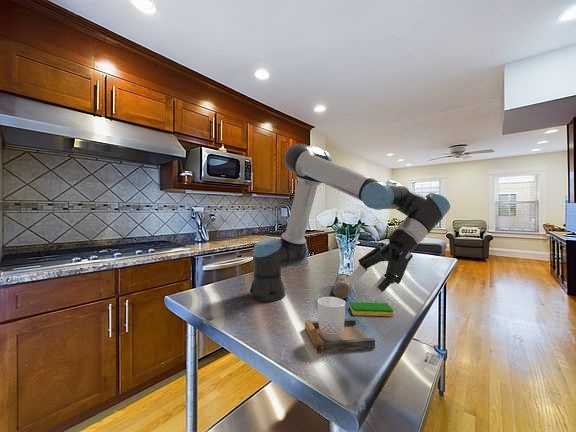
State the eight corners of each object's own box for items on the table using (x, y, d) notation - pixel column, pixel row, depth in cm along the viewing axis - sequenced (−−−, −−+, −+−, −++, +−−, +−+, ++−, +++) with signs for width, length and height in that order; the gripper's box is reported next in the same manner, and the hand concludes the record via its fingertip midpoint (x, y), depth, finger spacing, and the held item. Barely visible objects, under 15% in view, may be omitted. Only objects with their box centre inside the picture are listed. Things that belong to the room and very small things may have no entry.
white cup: (315, 329, 77) (315, 297, 77) (340, 328, 78) (340, 296, 78) (320, 343, 69) (320, 307, 69) (348, 342, 70) (349, 306, 70)
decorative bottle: (351, 299, 104) (351, 283, 104) (332, 298, 107) (332, 282, 106) (353, 282, 129) (353, 268, 129) (337, 280, 131) (337, 268, 131)
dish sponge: (349, 308, 97) (349, 301, 97) (387, 309, 96) (387, 302, 95) (352, 316, 90) (353, 309, 89) (393, 317, 88) (393, 310, 88)
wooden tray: (354, 324, 82) (354, 316, 82) (375, 347, 69) (375, 338, 68) (305, 328, 79) (305, 320, 79) (317, 353, 66) (317, 343, 66)
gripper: (447, 252, 64) (391, 316, 62) (391, 240, 88) (350, 285, 87) (428, 232, 63) (370, 295, 61) (377, 224, 87) (335, 270, 86)
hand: (358, 289), depth 74 cm, fingers open, 13 cm apart
